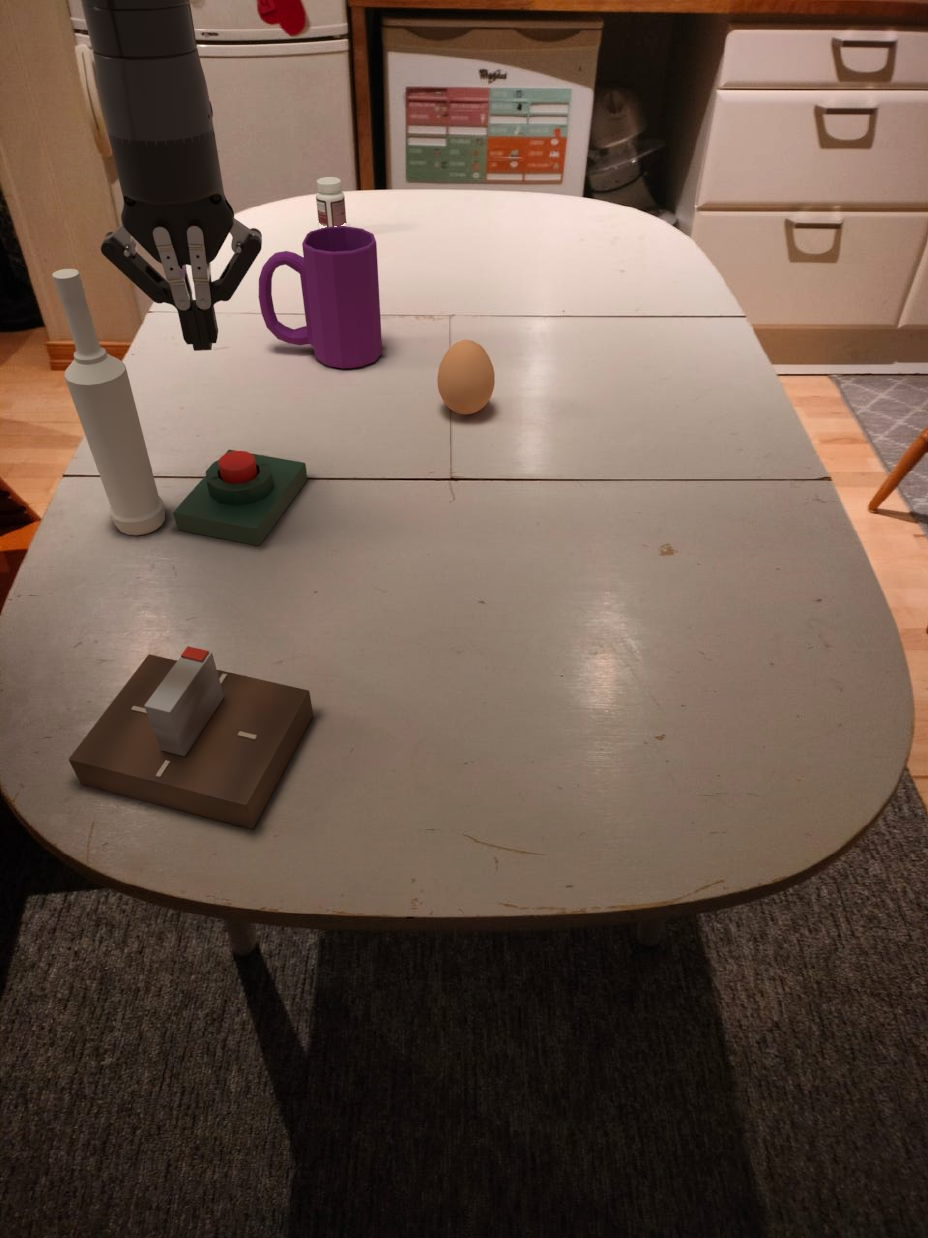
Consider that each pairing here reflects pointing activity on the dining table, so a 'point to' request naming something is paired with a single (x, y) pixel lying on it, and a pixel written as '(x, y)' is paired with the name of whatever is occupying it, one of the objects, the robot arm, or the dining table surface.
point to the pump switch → (241, 501)
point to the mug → (332, 296)
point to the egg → (466, 377)
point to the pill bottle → (330, 202)
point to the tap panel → (198, 747)
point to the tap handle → (185, 701)
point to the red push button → (237, 467)
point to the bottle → (109, 417)
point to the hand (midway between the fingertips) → (203, 346)
